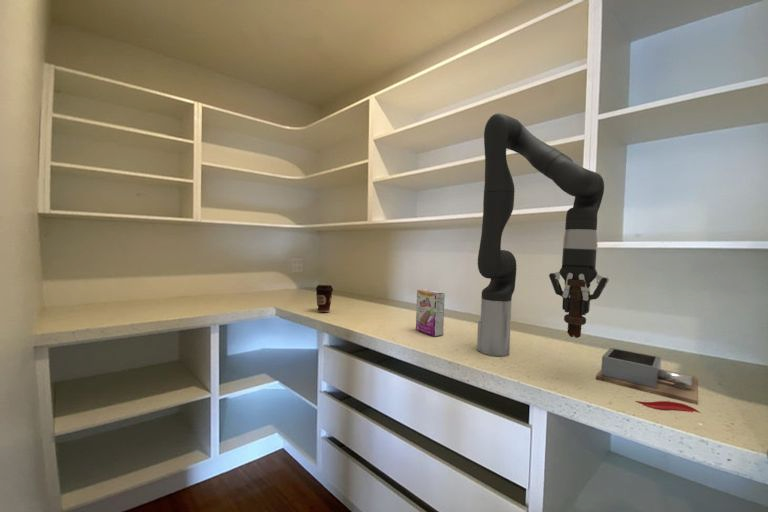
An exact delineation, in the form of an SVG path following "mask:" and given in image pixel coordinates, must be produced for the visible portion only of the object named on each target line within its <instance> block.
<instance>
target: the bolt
mask: <svg viewBox="0 0 768 512" xmlns="http://www.w3.org/2000/svg"><path fill="white" fill-rule="evenodd" d="M566 280H567V279H566ZM566 280H564V284H563V285H565V283H566ZM567 285H569V286H570V297H569V301H570V302H569V312H568V314H567V313H566V314H565V315H564V317H563V322H565V323H566V324H567V332H566V333H567V334H568V336H569V337H571V338H573V337H574V338H575V339H577V338H580V337H581V336H582V326H584V325H585V324H586V323H587V318H586V317H585V316H584V315H581V309H582V301H583V294H582V291H581V287H585V281H580V280H569V279H568V281H567ZM586 286H587V287H590V288H591V283H590V284H588V285H587V281H586Z"/></svg>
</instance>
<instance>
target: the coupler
mask: <svg viewBox="0 0 768 512" xmlns="http://www.w3.org/2000/svg"><path fill="white" fill-rule="evenodd" d="M661 364H662V357H661V356H657V355H651V354H647V353H641V352H636V351H632V350H631V351H630V350H626V349H620V348H615V347H610V348H608V350H607V351H606V352H605V353H604V354H603V355H602V357H601V369H602V371H601V376H604V377H608V378H613V379H617V380H621V381H625V382H629V383H633V384H637V385H641V386H645V387H649V388H653V389H657V385H658V382H659V380H664V381H668V382H672V383H674V388H677V389H681V390H685V391H686V386H690V387H692V376H693V375H691V376H688V375H689V374H686V375H683V374H684V373H681V374H678V373H679V372H677V373H673V372H674V371H672V372H669V371H670V370H667V371H664V370H665V369H662V368H661ZM661 369H662V370H661Z"/></svg>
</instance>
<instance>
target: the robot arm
mask: <svg viewBox="0 0 768 512" xmlns="http://www.w3.org/2000/svg"><path fill="white" fill-rule="evenodd" d="M483 130H484V131H483V142H484V143H483V144H484V145H483V146H484V186H483V187H484V189H483V205H482V208H483V209H482V211H483V212H482V225H481V235H480V242H479V247H478V248H479V249H478V256H477V270H478V272H479V274H480V275H481V276H482V277H483V278H484V279H489V280H490V281H489V284H488V285H487V286H486V287H485V288H483V289H482V290H481V297H480V298H481V300H480V301H481V302H480V303H481V304H480V320H479V321H477V337H476V338H477V339H476V340H477V341H476V351H479V352H480V353H482V354H484V355H487V356H491V357H508V356H509V355H510V352H511V351H510V350H511V345H510V344H511V323H512V322H511V320H512V297H513V295H514V292H515V289H516V280H517V260H516V257H515V255H514V254H513V253H512V252H511V251H509V250H505V249H502V248H501V247H502V246H501V245H502V236H503V232H504V229H505V227H506V225H507V224H508V222H509V220H510V217H511V216H512V213H513V210H514V207H515V205H514V204H515V184H514V180H513V177H512V173H511V170H510V169H509V165H508V160H507V150H510V151H512V152H515V153H517V154H519V155H521V156H522V157H524V158H525V159H526V160H527V162H528V163H529V164H530V165H531V166H532V167H533V168H534V169H535V170H536V171H538V172H540V174H542V175H544V176H545V177H547V178H548V179H550V180H551V181H553V182H554V183H555V185H556V186H557V187H559V188H560V190H562V191H563V192H565V193H566V194H567V195H569V196H572V197H574V200H573V205H572V207H570V208H569V209H568V210H567V211H566V214H565V215H566V216H565V225H564V226H565V227H564V229H565V230H564V235H563V243H562V259H561V260H562V261H561V267H560V269H559V271H556V272H550V273H548V277H549V279H550V282H551V285H552V287H553V291H554V293H555V295H558V296H560V297H561V298H562V303H561V304H562V306H561V307H562V310H563V311H564V313H566V314H567V313H569V302H570V301H569V298H570V286H569V285H567V281H568V279H569V280H580V281H585V287H581V291H582V294H583V301H582V309H581V315H582V316H586V315H587V314H588V313H589V312H590V309H591V307H590V305H591V304H590V303H591V301H592V300H593V301H594V300H597V299H599V297H600V296H601V294H602V293H603V291H604V289H605V288H606V286H607V284H608V283H609V280H610V279H609V277H605V276H602V275H600V274H598V272H597V270H596V263H597V248H598V231H597V229H598V228H597V227H598V212H599V209H600V207H601V205H602V201H603V196H604V192H605V182H604V181H605V180H604V179H603V178H604V177H602V176H601V174H600V173H598V172H595V171H593V170H589V169H587V168H585V167H583V166H581V165H579V164H577V163H576V162H574V161H573V159H572V158H571V157H569V156H568V155H566V154H565V153H563V152H562V151H560V150H558V149H557V148H555V147H553V146H552V145H549V144H548V143H546V142H544V141H542V140H540V139H539V138H538V137H536V136H535V135H533V134H532V132H531V131H529V130H528V129H527V128H526V127H525V126H524V125H523V124H522V123H521V122H520V121H519V120H518V119H516V118H515V117H511V116H509V115H507V114H504V113H495V114H493V115H492V116H490V117H489V118H488V119H487V121H486V123H485V126H484V129H483ZM561 278H562V279H563V281H565V280H566V279H567V280H566V283H565V282H564V283H565V284H564V287H563V288H562V286H561V283H560V279H561ZM595 279H596V281H595V282H596V284H597V285H596V288H595V289H594V291H593V293H592V294H591V290H590V289H591V286H590V287H587V286H586V281H587V285H588V284H590V285H591V283H592V282H593V281H594V280H595Z"/></svg>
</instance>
